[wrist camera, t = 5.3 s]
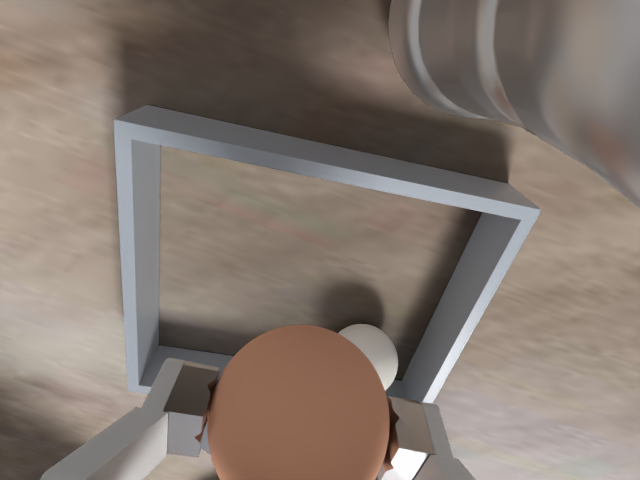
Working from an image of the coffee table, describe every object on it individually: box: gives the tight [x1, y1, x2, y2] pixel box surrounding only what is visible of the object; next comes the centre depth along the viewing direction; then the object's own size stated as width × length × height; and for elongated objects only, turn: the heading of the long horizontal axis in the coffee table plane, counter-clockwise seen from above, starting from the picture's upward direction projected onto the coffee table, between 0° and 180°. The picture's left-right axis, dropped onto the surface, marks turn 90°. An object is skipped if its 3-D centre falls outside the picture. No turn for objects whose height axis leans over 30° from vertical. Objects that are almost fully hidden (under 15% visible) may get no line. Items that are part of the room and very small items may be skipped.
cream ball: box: [338, 324, 398, 390], centre depth 21 cm, size 4×4×4 cm
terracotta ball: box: [207, 325, 390, 480], centre depth 10 cm, size 5×5×5 cm
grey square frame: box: [113, 105, 541, 404], centre depth 19 cm, size 17×15×3 cm
